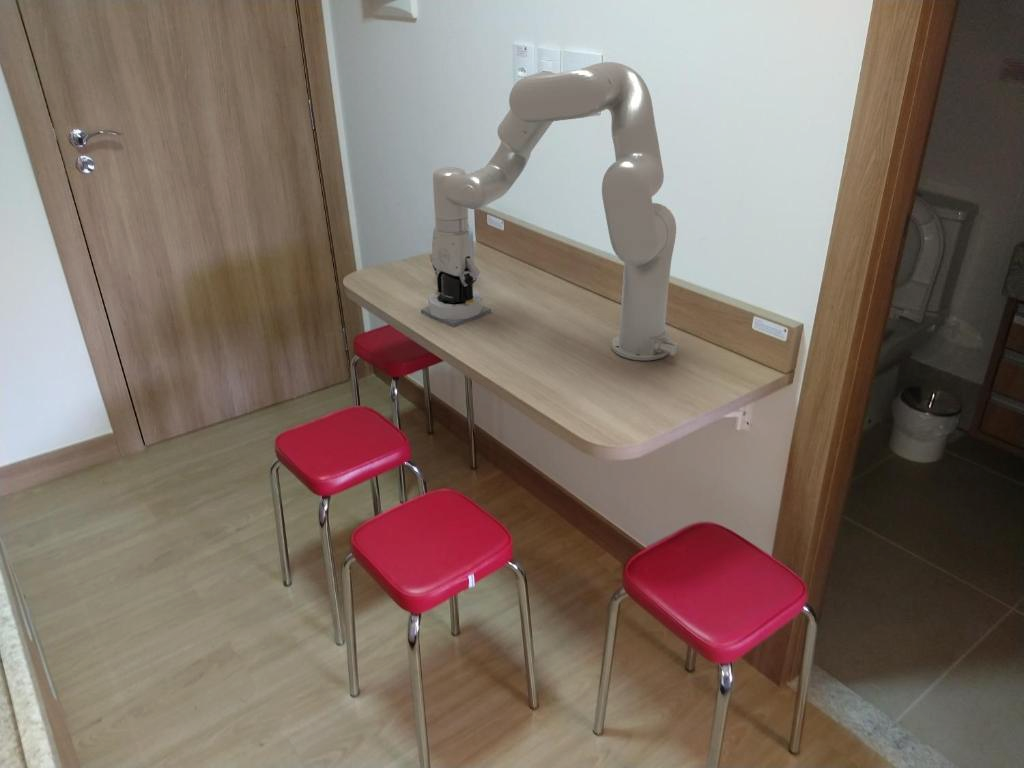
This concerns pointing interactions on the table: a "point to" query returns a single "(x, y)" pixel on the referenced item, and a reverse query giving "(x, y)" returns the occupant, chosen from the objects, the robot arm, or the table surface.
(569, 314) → the table surface
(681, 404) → the table surface
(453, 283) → the supplement bottle
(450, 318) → the socket
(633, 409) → the table surface
